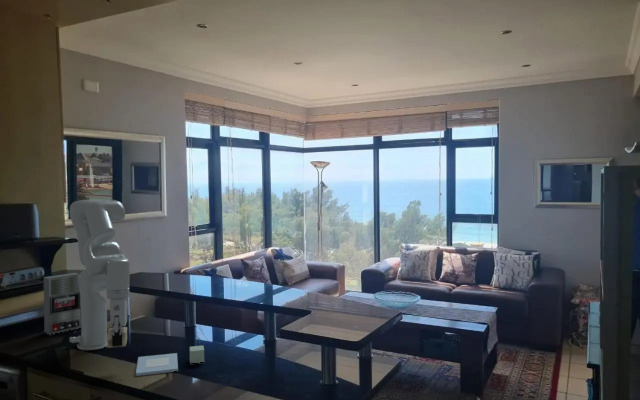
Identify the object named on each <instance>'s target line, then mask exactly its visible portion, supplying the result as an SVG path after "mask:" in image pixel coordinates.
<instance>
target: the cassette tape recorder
mask: <svg viewBox="0 0 640 400" xmlns="http://www.w3.org/2000/svg"><path fill="white" fill-rule="evenodd" d="M79 274H80V273H78V272H70V273H64V274H58V275H57V274H56V275H50V276H44V277H43V318H44V319H43V320H44V321H43V322H44V325H43V326H44V330H43V333H44V332H46V333H47V334H46V333H45V334H46V335H48V334H49V335H48V336H50V335H51V334H53V335H56V334H55V333H58V334H61V333H60V332H62V333H66V332H70V331H69V330H71V331H74V329H75V330H79V328H81V297H80V290H79V284H78V276H79ZM65 331H66V332H65ZM51 336H52V335H51Z"/></svg>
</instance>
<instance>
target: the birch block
mask: <svg viewBox="0 0 640 400" xmlns="http://www.w3.org/2000/svg"><path fill="white" fill-rule="evenodd" d="M118 329H119V330H120V328H118ZM121 334H122V346H112V335H113V327H110V328H108V329H107V347H106V348H109V349H110V348H111V349H112V348H123V347H127V341H128V327H127V326H123V327H122V330H121Z"/></svg>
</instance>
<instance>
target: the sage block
mask: <svg viewBox="0 0 640 400" xmlns="http://www.w3.org/2000/svg"><path fill="white" fill-rule="evenodd" d="M200 362H204V363H205V347H204V345H194V346H192V345H191V346H189V363H190V365H192V364H191V363H199V364H201V363H200Z"/></svg>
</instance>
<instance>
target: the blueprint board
mask: <svg viewBox="0 0 640 400" xmlns="http://www.w3.org/2000/svg"><path fill="white" fill-rule="evenodd" d="M178 362H179V361H178V352H176V353H165V354H155V355H145V356H137V362H136V370H135V376H136V377H140V376H150V375H159V374H166V373H168V374H169V373H175V372H174V371H177V372H179V366H178V365H179V363H178Z"/></svg>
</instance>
